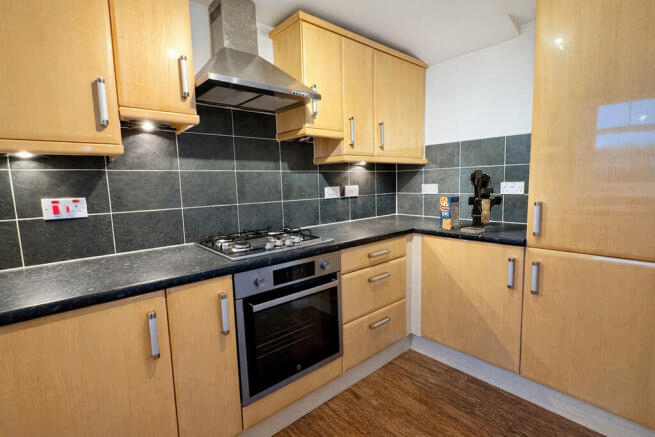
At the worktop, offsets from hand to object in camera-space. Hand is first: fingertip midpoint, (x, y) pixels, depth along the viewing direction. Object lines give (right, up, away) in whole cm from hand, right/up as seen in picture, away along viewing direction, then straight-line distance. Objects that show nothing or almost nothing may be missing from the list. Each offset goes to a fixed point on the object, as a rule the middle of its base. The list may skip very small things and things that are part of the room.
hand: (485, 211), depth 186 cm
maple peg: (+1, -7, +2) cm, 7 cm away
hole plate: (-5, -13, +7) cm, 15 cm away
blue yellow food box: (-14, -12, +21) cm, 28 cm away
